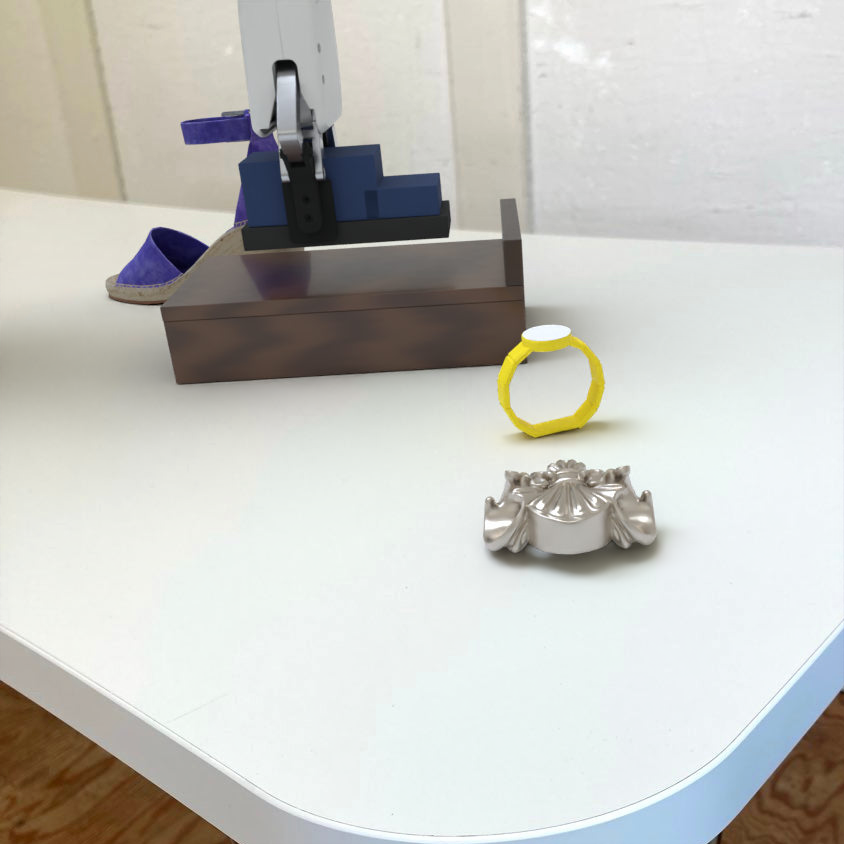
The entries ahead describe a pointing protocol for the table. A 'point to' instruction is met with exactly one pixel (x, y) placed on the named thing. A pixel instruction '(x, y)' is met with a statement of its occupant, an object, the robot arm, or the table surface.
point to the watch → (547, 341)
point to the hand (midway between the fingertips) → (320, 229)
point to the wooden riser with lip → (350, 309)
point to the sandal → (181, 253)
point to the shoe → (346, 201)
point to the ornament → (568, 510)
